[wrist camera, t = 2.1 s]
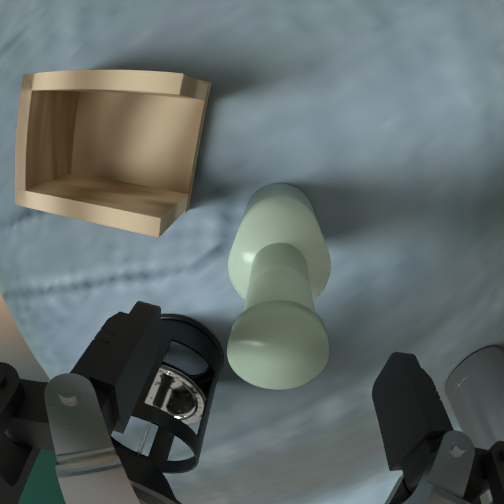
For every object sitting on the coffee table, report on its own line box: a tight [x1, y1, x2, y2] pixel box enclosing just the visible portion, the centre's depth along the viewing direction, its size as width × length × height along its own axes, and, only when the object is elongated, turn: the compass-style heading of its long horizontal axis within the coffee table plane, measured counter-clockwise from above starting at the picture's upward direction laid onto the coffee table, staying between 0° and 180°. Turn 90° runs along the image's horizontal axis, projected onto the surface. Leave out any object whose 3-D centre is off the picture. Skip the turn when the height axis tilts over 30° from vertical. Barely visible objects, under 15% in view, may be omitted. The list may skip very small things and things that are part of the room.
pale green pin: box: [227, 183, 331, 390], centre depth 17 cm, size 5×5×16 cm
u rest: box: [15, 70, 212, 237], centre depth 19 cm, size 12×10×7 cm
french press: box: [110, 314, 224, 504], centre depth 20 cm, size 12×9×23 cm
